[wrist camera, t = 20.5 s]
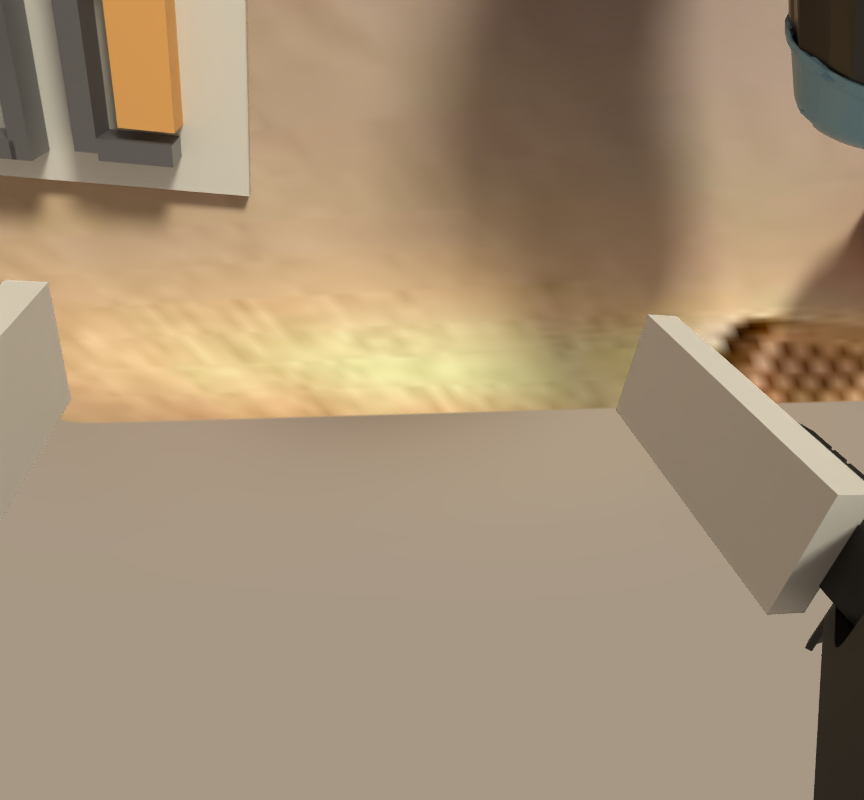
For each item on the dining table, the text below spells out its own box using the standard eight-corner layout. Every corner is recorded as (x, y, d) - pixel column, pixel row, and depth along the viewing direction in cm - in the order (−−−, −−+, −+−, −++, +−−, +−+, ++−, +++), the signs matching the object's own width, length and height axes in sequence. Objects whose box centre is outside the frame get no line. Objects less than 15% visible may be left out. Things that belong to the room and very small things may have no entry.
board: (-301, -210, 29) (-380, -236, 26) (244, -112, 34) (237, -123, 31) (-174, 156, 37) (-221, 172, 34) (250, 192, 42) (245, 209, 39)
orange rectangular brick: (112, -43, 34) (97, -46, 31) (172, -34, 35) (161, -36, 32) (130, 118, 38) (117, 127, 36) (183, 124, 39) (174, 133, 36)
